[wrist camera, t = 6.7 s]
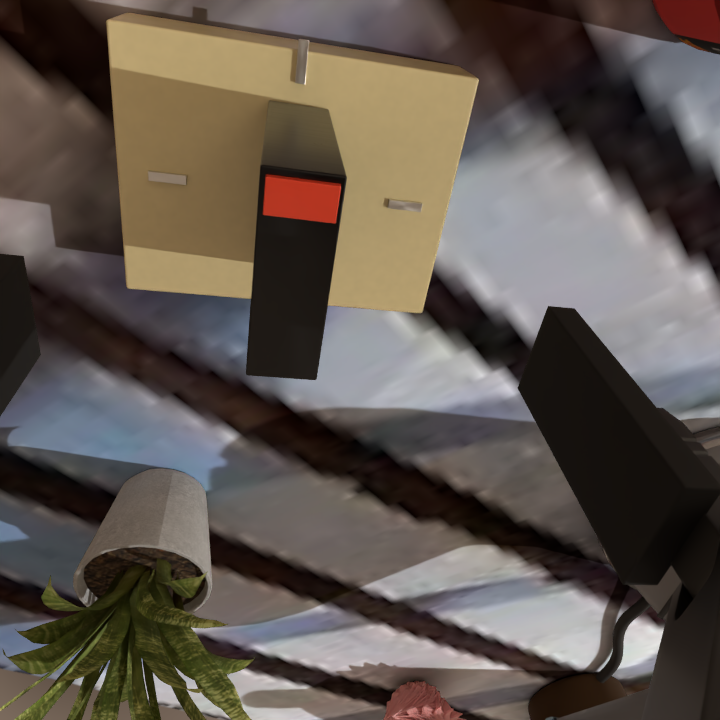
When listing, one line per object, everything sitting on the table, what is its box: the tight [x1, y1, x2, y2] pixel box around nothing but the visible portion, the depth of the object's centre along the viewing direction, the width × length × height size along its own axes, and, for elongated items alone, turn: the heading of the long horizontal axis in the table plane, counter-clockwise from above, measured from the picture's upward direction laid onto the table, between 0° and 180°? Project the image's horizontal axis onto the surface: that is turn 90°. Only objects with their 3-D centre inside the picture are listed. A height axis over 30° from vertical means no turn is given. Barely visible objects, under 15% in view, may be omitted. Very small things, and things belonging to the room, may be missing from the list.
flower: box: [383, 681, 466, 720], centre depth 50 cm, size 8×8×6 cm
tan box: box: [106, 13, 479, 313], centre depth 24 cm, size 13×11×3 cm
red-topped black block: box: [246, 100, 347, 380], centre depth 20 cm, size 6×2×8 cm, turn 170°
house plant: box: [0, 468, 254, 720], centre depth 30 cm, size 14×14×16 cm
